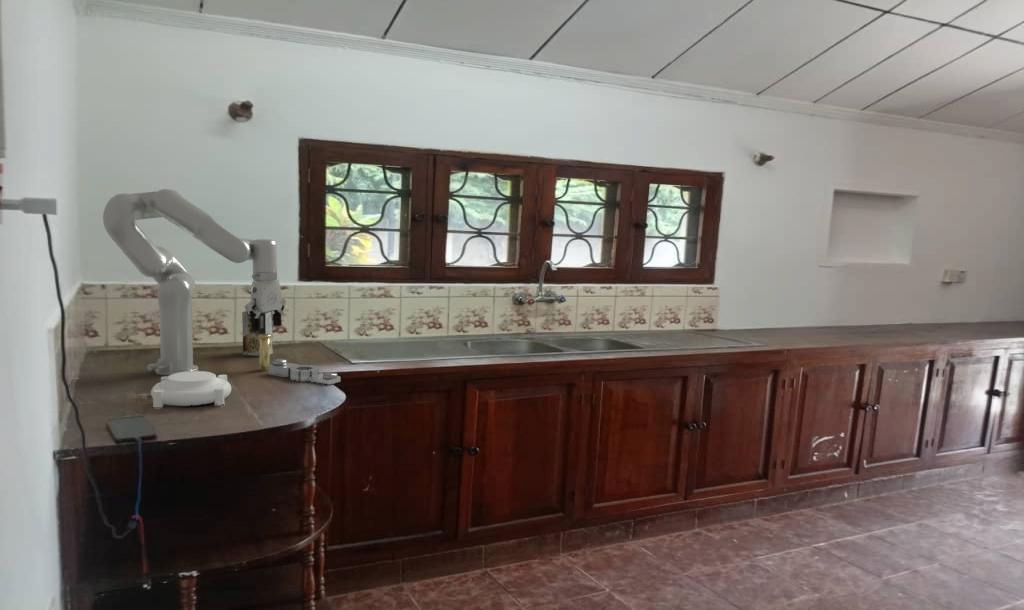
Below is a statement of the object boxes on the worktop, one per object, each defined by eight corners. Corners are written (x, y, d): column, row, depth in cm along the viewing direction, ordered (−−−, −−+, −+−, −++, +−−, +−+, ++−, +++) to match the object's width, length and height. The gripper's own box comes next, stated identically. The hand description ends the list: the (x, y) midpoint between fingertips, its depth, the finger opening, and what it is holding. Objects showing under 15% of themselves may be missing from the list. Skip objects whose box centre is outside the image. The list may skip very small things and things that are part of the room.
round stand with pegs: (197, 385, 216) (197, 362, 215) (255, 398, 205) (255, 374, 204) (124, 403, 194) (123, 378, 193) (185, 418, 184) (185, 391, 183)
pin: (264, 371, 235) (264, 336, 234) (255, 370, 237) (255, 334, 235) (273, 369, 239) (273, 334, 237) (264, 368, 240) (264, 333, 239)
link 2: (326, 386, 220) (326, 377, 220) (284, 378, 227) (284, 370, 227) (344, 380, 228) (344, 372, 228) (303, 373, 235) (303, 365, 235)
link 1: (305, 382, 224) (305, 369, 223) (264, 375, 231) (264, 361, 230) (324, 377, 231) (324, 364, 231) (284, 370, 239) (284, 357, 238)
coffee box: (273, 353, 264) (273, 310, 262) (265, 356, 258) (265, 313, 256) (250, 351, 265) (249, 309, 263) (241, 355, 259) (241, 311, 256)
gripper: (253, 279, 224) (255, 332, 227) (292, 275, 240) (293, 325, 242) (236, 278, 227) (238, 330, 230) (275, 274, 243) (276, 323, 245)
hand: (266, 327), depth 236 cm, fingers open, 9 cm apart
